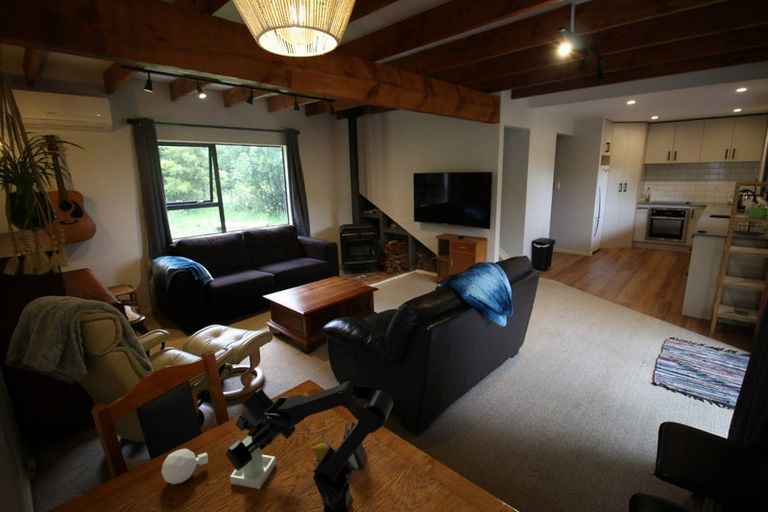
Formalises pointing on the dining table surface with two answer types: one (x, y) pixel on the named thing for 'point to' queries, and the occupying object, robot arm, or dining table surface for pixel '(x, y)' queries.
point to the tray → (257, 483)
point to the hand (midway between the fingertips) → (247, 447)
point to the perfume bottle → (181, 465)
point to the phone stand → (355, 454)
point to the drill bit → (320, 449)
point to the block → (253, 461)
